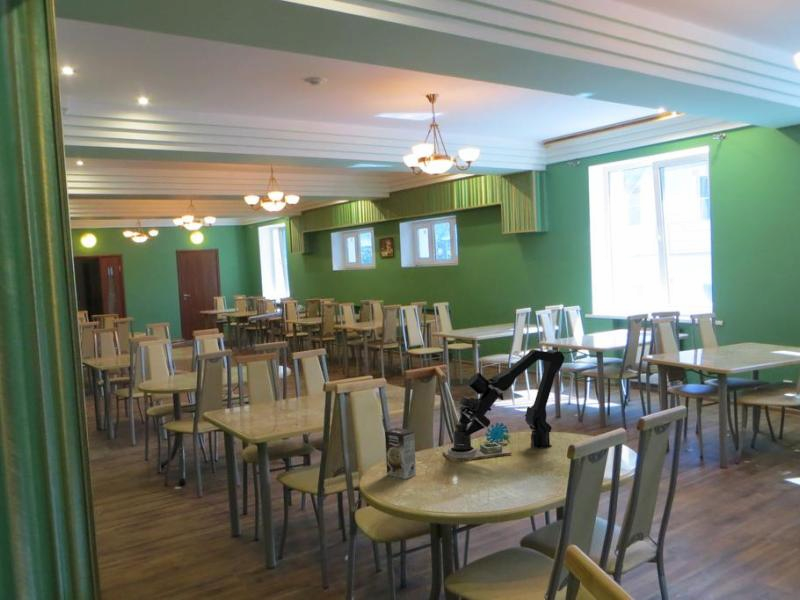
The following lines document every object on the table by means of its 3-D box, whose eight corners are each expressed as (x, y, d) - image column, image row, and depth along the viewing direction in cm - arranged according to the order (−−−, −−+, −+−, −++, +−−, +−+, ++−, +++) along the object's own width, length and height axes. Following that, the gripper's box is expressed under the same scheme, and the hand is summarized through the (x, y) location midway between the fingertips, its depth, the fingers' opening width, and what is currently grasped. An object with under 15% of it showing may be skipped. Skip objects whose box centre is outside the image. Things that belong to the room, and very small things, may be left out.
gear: (480, 438, 278) (492, 418, 282) (486, 445, 282) (498, 426, 285) (500, 446, 270) (513, 426, 274) (506, 453, 273) (518, 433, 277)
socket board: (499, 447, 268) (499, 440, 268) (511, 454, 257) (511, 447, 257) (443, 454, 262) (442, 446, 262) (453, 462, 251) (452, 454, 251)
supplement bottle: (457, 457, 254) (456, 426, 254) (451, 452, 261) (449, 422, 260) (474, 454, 256) (472, 424, 256) (467, 450, 263) (466, 420, 262)
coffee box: (386, 475, 239) (383, 431, 239) (398, 470, 244) (396, 427, 243) (404, 479, 233) (402, 434, 232) (416, 474, 238) (414, 430, 237)
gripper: (462, 385, 268) (438, 415, 265) (481, 392, 250) (455, 425, 247) (481, 402, 270) (457, 432, 267) (501, 411, 252) (475, 443, 250)
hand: (460, 433), depth 258 cm, fingers open, 9 cm apart
